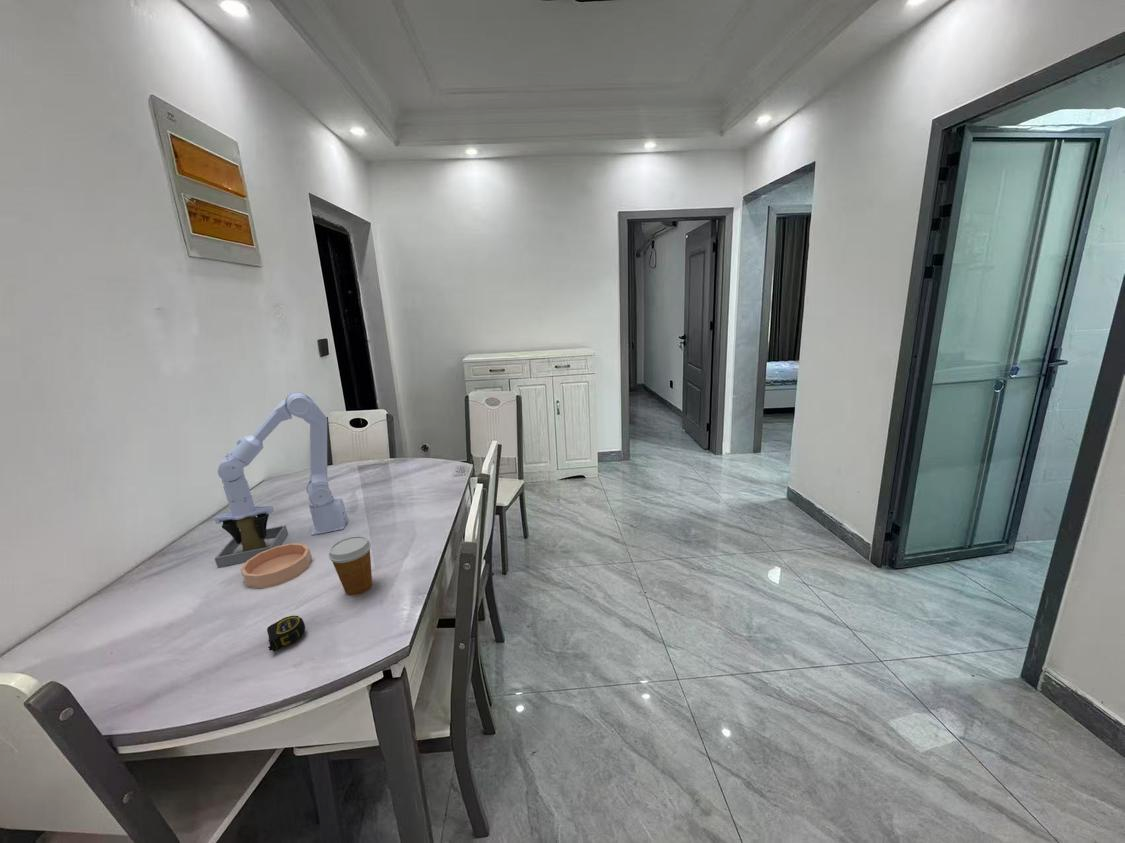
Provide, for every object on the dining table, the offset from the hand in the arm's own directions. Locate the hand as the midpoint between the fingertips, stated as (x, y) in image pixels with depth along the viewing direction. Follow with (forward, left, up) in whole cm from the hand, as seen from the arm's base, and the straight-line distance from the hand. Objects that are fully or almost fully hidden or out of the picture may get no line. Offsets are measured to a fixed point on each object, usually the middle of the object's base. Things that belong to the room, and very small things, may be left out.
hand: (252, 539), depth 136 cm
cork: (0, 0, -4) cm, 4 cm away
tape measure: (-21, +48, -4) cm, 53 cm away
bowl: (-11, +16, -3) cm, 20 cm away
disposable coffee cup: (-34, +34, -4) cm, 48 cm away
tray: (0, 0, -3) cm, 3 cm away
